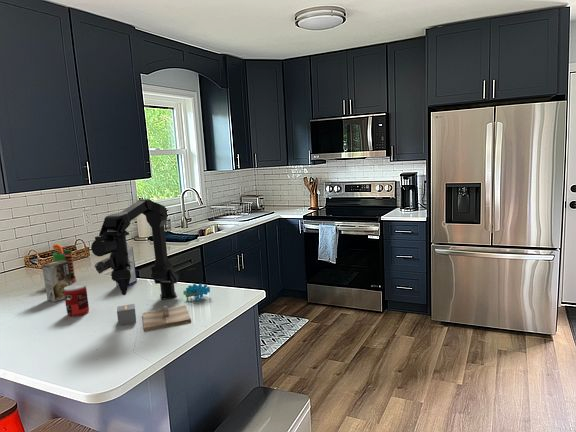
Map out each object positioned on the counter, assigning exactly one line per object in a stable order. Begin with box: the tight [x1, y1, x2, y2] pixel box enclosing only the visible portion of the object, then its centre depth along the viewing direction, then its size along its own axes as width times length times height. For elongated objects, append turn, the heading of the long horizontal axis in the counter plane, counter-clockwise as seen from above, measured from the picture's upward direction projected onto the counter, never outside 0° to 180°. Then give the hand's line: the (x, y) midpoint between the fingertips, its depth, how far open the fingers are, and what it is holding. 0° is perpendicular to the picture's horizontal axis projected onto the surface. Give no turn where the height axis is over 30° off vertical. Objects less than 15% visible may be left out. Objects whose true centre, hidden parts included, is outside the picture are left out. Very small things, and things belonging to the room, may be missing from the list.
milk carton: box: [115, 245, 138, 287], centre depth 206 cm, size 7×7×20 cm
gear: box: [182, 283, 211, 303], centre depth 177 cm, size 11×6×10 cm
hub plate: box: [142, 305, 192, 332], centre depth 157 cm, size 16×16×5 cm
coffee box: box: [41, 260, 73, 302], centre depth 191 cm, size 9×6×16 cm
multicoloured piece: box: [52, 243, 77, 284], centre depth 216 cm, size 10×9×20 cm
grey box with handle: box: [116, 303, 137, 326], centre depth 158 cm, size 6×6×6 cm
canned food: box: [64, 283, 90, 317], centre depth 170 cm, size 8×8×11 cm
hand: (124, 291), depth 156 cm, fingers open, 9 cm apart
